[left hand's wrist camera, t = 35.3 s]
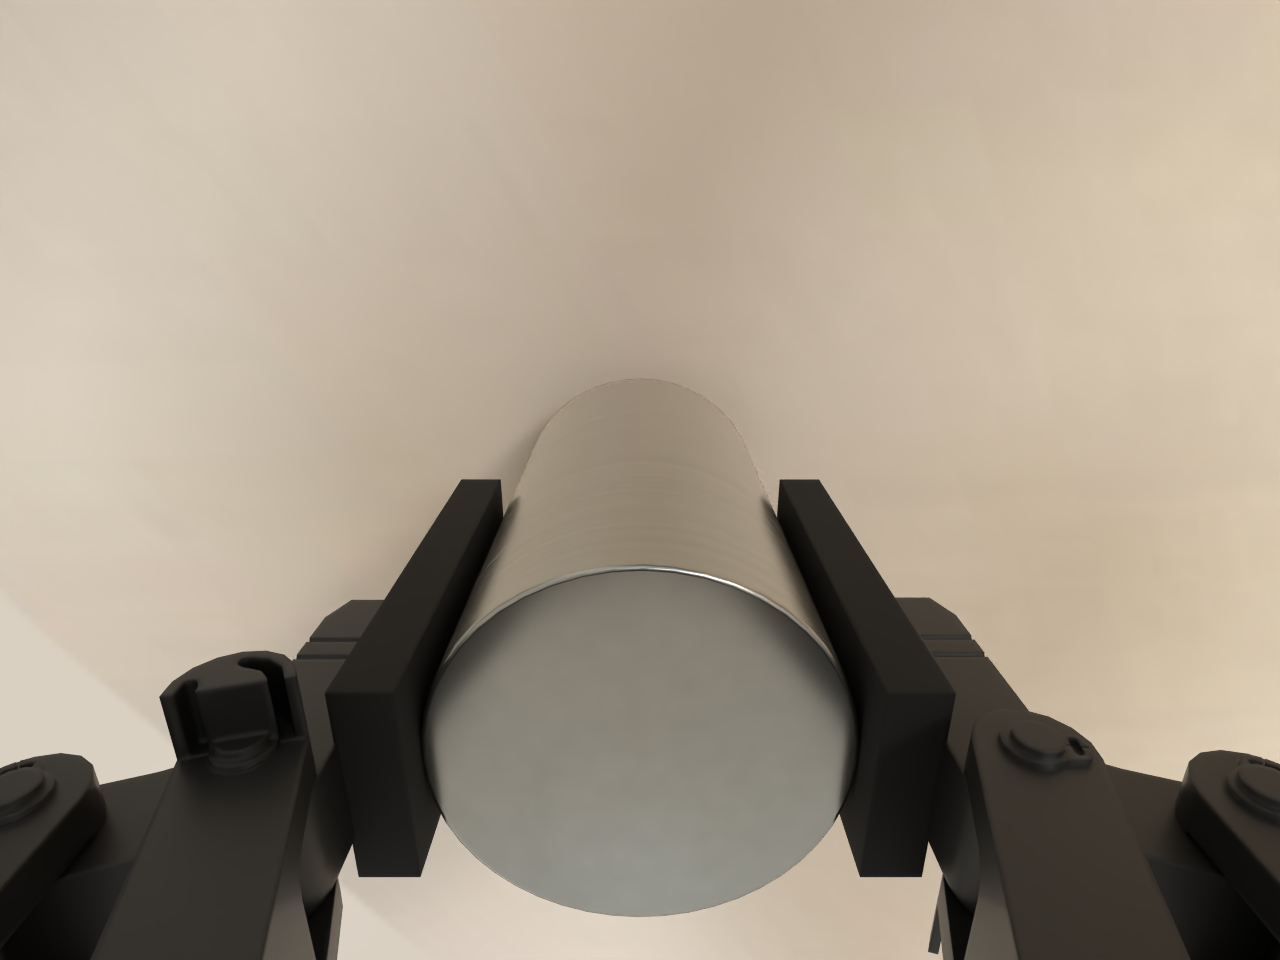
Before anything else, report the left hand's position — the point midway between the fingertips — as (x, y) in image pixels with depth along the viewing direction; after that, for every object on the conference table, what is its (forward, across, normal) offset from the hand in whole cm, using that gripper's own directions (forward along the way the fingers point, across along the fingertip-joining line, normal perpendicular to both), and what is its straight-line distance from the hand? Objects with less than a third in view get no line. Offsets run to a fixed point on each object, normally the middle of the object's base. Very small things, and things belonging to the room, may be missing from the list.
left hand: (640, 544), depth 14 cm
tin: (+3, 0, 0) cm, 3 cm away
